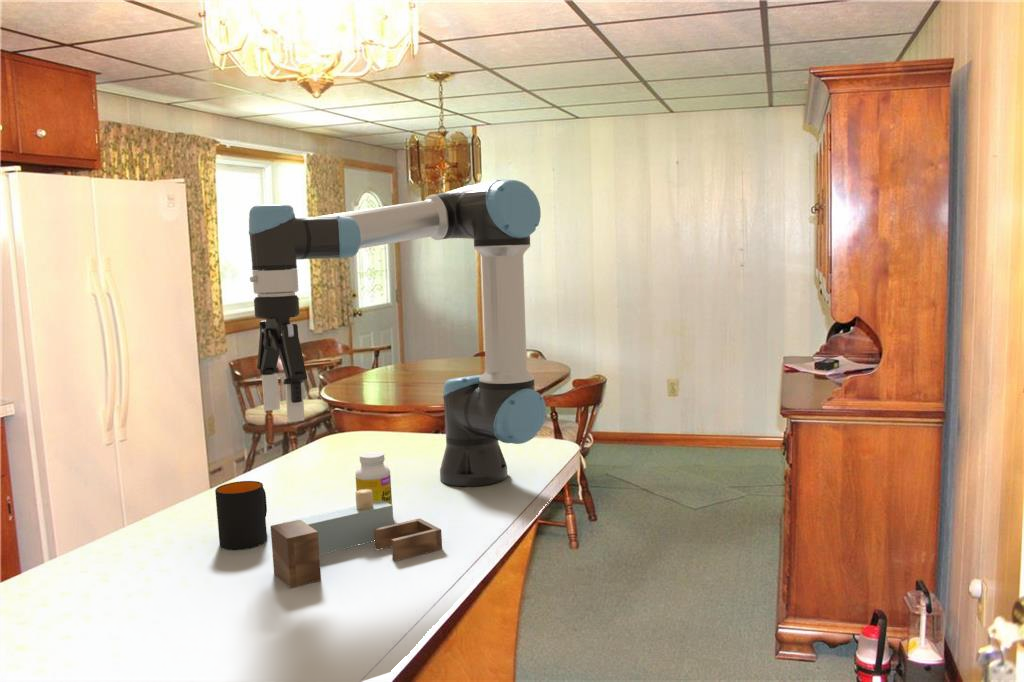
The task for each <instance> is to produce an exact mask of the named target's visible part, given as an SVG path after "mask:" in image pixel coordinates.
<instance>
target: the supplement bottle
mask: <svg viewBox="0 0 1024 682" xmlns="http://www.w3.org/2000/svg"><path fill="white" fill-rule="evenodd" d="M384 461H385V453H384V452H383V451H382V452H380V451H369V452H368V451H367V452H364V453H361V454H360V455H359V463H360V465H361V466H360V467H358V468H357V469H356V471H355V486H356V487H355V488H356V491H358V490H364V489H369V490H372V493H373V503H374V502H378V501H385V502H387V503H389V504H391V505H392V506H393V498H392V497H393V496H392V481H391V478H392V477H391V470H390V468H389V467H388V466H386V465H385V464H384ZM356 491H355V492H356Z"/></svg>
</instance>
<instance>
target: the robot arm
mask: <svg viewBox="0 0 1024 682" xmlns="http://www.w3.org/2000/svg"><path fill="white" fill-rule="evenodd" d="M294 211H295V210H294V208H293V207H292V206H291V205H290V204H259V205H254V206H252V207H251V208H250V210H249V214H248V215H249V216H248V217H249V218H248V235H249V243H250V254H251V255H250V256H251V257H250V258H251V266H252V267H251V270H252V276H250V277H249V282H250V283H252V286H253V293H254V294H255V295H256V294H257V296H255V297H254V298H253V303H254V304H253V305H254V306H253V307H254V317H255V318H256V319H261V320H260V321H259V339H258V340H259V341H258V354H257V363H256V364H257V365H256V368H257V370H258V371H260V374H261V384H262V401H263V411H264V412H269V411H277V410H281V406H280V389H279V377H278V375H279V374H278V373H280V371H279V368H278V367H279V366H278V361H279V359H280V362H281V365H282V369H283V372H284V374H285V378H284V379H283V382H282V384H283V385H285V401H286V402H285V403H286V405H285V406H286V415H287V416H286V417H287V422H288V423H293V422H294V423H296V422H302V421H303V422H304V421H305V406H304V405H305V404H304V392H303V391H304V390H303V383H304V381H306V380H307V379H308V374H307V370H306V366H305V362H304V356H303V351H302V347H301V343H300V338H299V327H298V324H297V323H292V324H291V321H290V319H291V318H296V317H299V315H300V302H299V300H300V299H299V297H298V295H296V293H297V292H299V277H298V276H299V275H298V265H297V264H298V263H297V260H324V259H327V260H328V259H330V260H331V259H339V260H341V259H345V258H348V259H349V258H353V257H354V256H356V255H357V254H358V252H359V250H360V249H361V250H362V249H366V248H373V247H377V246H384V245H387V244H388V245H390V244H395V243H396V244H397V243H401V242H406V241H411V240H418V239H423V238H430V237H431V238H432V239H433V240H435V241H440V240H447V239H469V240H473V249H474V250H475V251H477V252H478V253H479V255H481V256H480V257H481V267H482V268H481V269H482V270H481V272H482V273H481V274H482V275H481V276H482V294H483V295H482V297H483V298H482V299H483V304H482V305H483V328H484V329H483V330H484V333H483V334H484V356H485V357H484V358H485V371H484V372H483V374H476V375H468V376H461V377H460V376H459V377H455V378H450V379H448V380H447V379H446V381H445V382H444V384H443V392H442V393H443V396H442V399H443V406H444V407H443V408H444V410H443V411H444V426H445V441H446V443H445V444H446V446H445V449H444V454H443V457H442V461H441V466H440V468H439V480H440V482H442V483H444V484H446V485H449V486H456V487H479V486H481V487H482V486H487V485H488V486H489V485H494V484H496V483H499V482H501V481H504V480H506V479H507V478H508V465H507V463H506V460H505V457H504V454H503V452H502V449H501V446H500V444H499V442H500V443H503V444H504V443H505V444H515V445H521V444H525V443H528V442H530V441H531V440H532V439H534V438H535V437H536V436H537V435H538V432H540V431H541V430H542V428H543V426H544V424H545V421H546V416H547V406H546V401H545V399H544V398H543V396H541V394H540V393H539V392H538V391H536V387H535V376H534V374H532V373H531V372H530V371H529V370H528V367H527V363H528V362H527V338H526V337H527V335H526V332H527V331H526V329H527V328H526V309H525V308H526V305H525V304H526V300H525V273H524V272H525V269H524V267H525V265H524V254H525V253H526V252H527V251H528V250H529V249H530V248H531V235H532V234H533V233H534V232H535V231H536V230H537V227H538V226H539V224H540V222H541V217H542V216H541V214H542V213H541V206H540V202H539V199H538V197H537V195H536V194H535V192H534V190H532V189H531V188H530V186H529V185H527V184H526V183H524V182H522V181H520V180H516V179H496V180H493V181H486V182H481V183H480V182H479V183H474V184H468V185H464V186H462V187H458V188H455V189H452V190H449V191H448V190H447V191H444V192H441V193H436V194H430V195H428V196H426V198H425V199H424V200H421V201H420V200H419V201H414V202H406V203H399V204H394V205H388V206H387V205H386V206H380V207H373V208H367V209H358V210H353V211H346V212H339V213H332V214H326V215H320V216H298V215H297V216H295V215H296V214H295V212H294ZM263 319H264V320H263Z"/></svg>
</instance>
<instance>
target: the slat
mask: <svg viewBox="0 0 1024 682" xmlns="http://www.w3.org/2000/svg"><path fill="white" fill-rule="evenodd" d="M355 503H356V504H355V506H352V507H348V508H347V507H346V508H342V509H339V510H334V511H329V512H325V513H320V514H319V513H318V514H315V515H311V516H306V517H302V518H298V519H293V520H288V521H284V522H282V523H286V522H291V521H295V520H302V521H303V522H305V523H306V524H307V525H309V526H310V527H312V528H313V529H315V530H316V531H318V542H319V556H320V555H324V554H325V555H326V554H328V552H329V553H332V551H333V552H336V551H335V550H337V551H340V549H341V550H344V548H345V549H348V547H349V548H352V547H351V546H353V547H356V546H355V545H357V546H359V545H358V544H361V545H364V544H363V543H365V544H368V543H367V542H369V543H372V542H371V541H373V542H375V541H374V529H376V528H380V527H385V526H389V525H393V524H395V523H394V509H393V507H394V506H393V504H392V505H391V504H389V503H387V502H385V501H378V502H374V503H373V493H372V490H369V489H364V490H358V491H355Z"/></svg>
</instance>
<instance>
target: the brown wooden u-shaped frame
mask: <svg viewBox="0 0 1024 682" xmlns="http://www.w3.org/2000/svg"><path fill="white" fill-rule="evenodd" d="M442 535H443V534H442V529H441V528H439V527H437V526H435V525H434V524H432V523H429V522H427V521H426V520H424V519H422V518H420V517H419V518H416V519H415V518H414V519H410V520H406V521H402V522H398V523H394V524H393V525H389V526H385V527H380V528H376V529H374V540H375V541H374V549H375V548H376V549H375V550H377V549H379V550H382V549H381V548H383V549H386V547H387V548H390V546H391V556H392V560H393V561H394V562H398V561H402V560H404V559H410V558H412V557H416V556H420V555H425V554H428V553H433V552H436V551H440V550H443V538H442V537H443V536H442ZM401 559H402V560H401ZM397 560H398V561H397Z"/></svg>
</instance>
